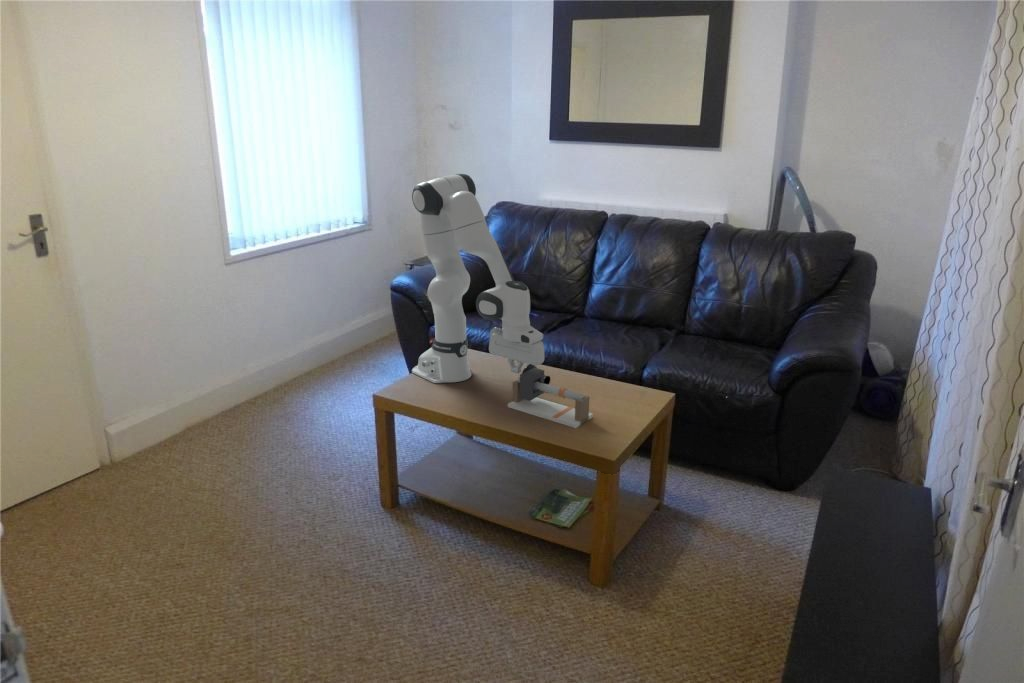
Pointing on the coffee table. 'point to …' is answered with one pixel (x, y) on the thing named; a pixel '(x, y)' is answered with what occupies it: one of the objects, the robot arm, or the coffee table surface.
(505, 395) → the coffee table surface
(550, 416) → the rail
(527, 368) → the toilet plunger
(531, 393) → the collar
